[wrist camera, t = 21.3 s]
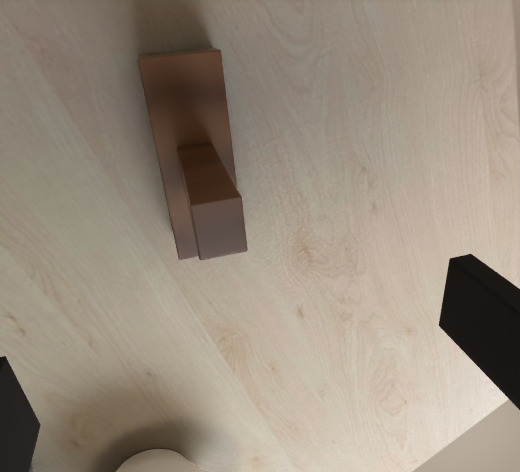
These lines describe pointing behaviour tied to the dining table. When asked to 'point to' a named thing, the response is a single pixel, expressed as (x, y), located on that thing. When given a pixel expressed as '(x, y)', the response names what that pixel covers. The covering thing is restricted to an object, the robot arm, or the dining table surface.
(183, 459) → the bowl
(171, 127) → the brush
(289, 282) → the dining table surface
